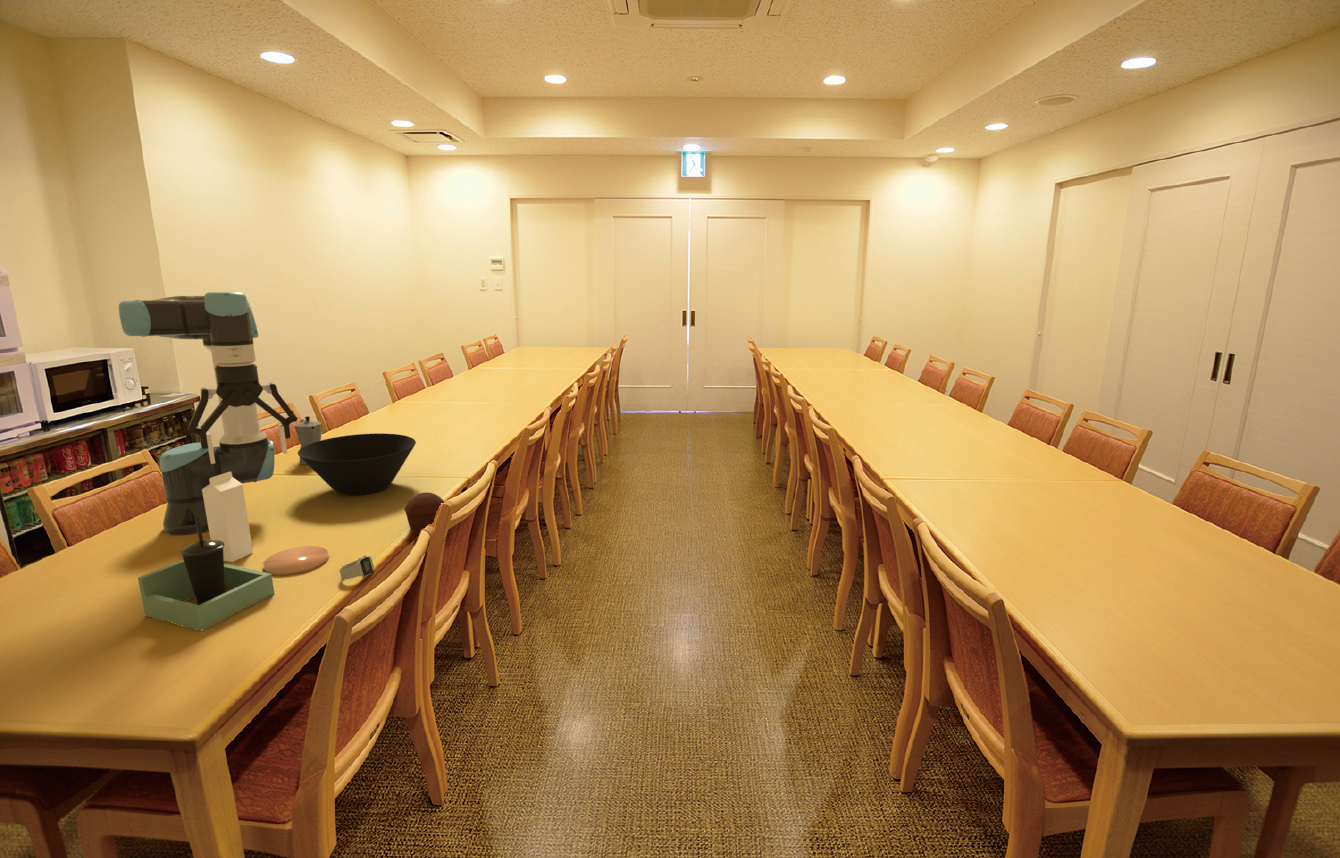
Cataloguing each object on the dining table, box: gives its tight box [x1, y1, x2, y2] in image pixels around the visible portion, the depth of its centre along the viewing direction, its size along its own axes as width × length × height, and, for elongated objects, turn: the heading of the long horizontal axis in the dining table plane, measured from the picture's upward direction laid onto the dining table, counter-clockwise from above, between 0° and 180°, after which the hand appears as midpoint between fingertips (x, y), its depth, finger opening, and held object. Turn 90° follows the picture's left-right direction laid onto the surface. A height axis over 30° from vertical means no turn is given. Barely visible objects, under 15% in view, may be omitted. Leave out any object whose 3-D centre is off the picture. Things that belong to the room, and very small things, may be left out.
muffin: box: [403, 492, 445, 534], centre depth 177 cm, size 12×11×10 cm
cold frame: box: [137, 559, 275, 632], centre depth 134 cm, size 16×16×9 cm
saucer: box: [263, 545, 329, 576], centre depth 155 cm, size 14×14×1 cm
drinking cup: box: [179, 519, 226, 605], centre depth 133 cm, size 8×8×20 cm
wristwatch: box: [338, 555, 375, 580], centre depth 149 cm, size 9×6×5 cm
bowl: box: [297, 432, 417, 496], centre depth 209 cm, size 36×36×15 cm
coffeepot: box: [294, 416, 322, 466], centre depth 238 cm, size 15×9×18 cm, turn 44°
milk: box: [202, 472, 254, 563], centre depth 156 cm, size 6×6×22 cm
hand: (249, 457), depth 139 cm, fingers open, 13 cm apart
